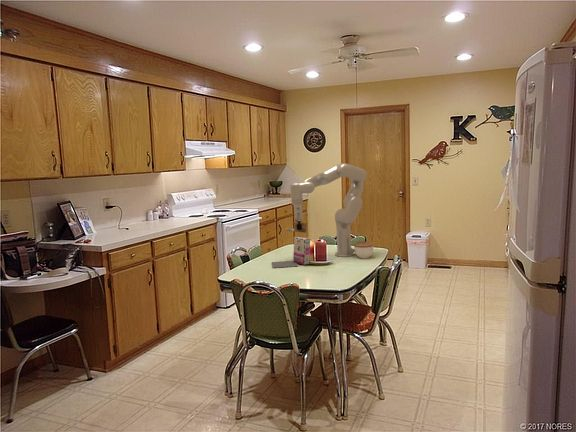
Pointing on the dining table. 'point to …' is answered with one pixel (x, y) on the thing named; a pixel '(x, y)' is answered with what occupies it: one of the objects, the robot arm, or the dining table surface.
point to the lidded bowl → (363, 249)
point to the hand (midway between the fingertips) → (299, 229)
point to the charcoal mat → (284, 264)
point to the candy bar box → (301, 250)
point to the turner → (304, 227)
